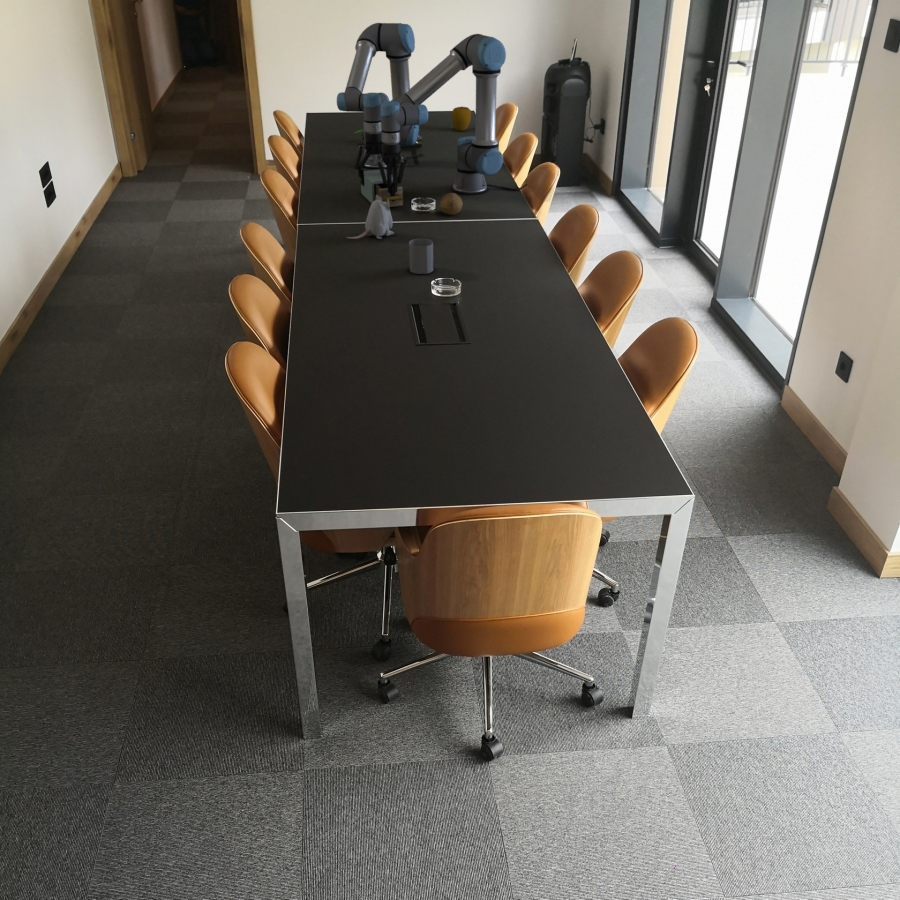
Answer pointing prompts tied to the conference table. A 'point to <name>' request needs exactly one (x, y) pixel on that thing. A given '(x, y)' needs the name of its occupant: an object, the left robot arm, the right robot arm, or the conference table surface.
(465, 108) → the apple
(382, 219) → the toy
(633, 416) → the conference table surface
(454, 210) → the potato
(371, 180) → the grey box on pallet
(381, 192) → the drawer
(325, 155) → the conference table surface
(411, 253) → the cup
